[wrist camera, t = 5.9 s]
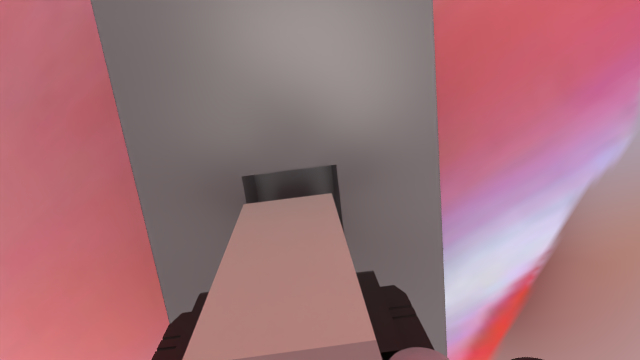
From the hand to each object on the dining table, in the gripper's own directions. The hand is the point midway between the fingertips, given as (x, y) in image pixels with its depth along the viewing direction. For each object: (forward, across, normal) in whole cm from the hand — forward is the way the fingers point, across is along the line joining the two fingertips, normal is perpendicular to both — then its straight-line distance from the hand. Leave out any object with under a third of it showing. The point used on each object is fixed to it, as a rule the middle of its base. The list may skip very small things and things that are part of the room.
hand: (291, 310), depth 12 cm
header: (+12, 0, 0) cm, 12 cm away
